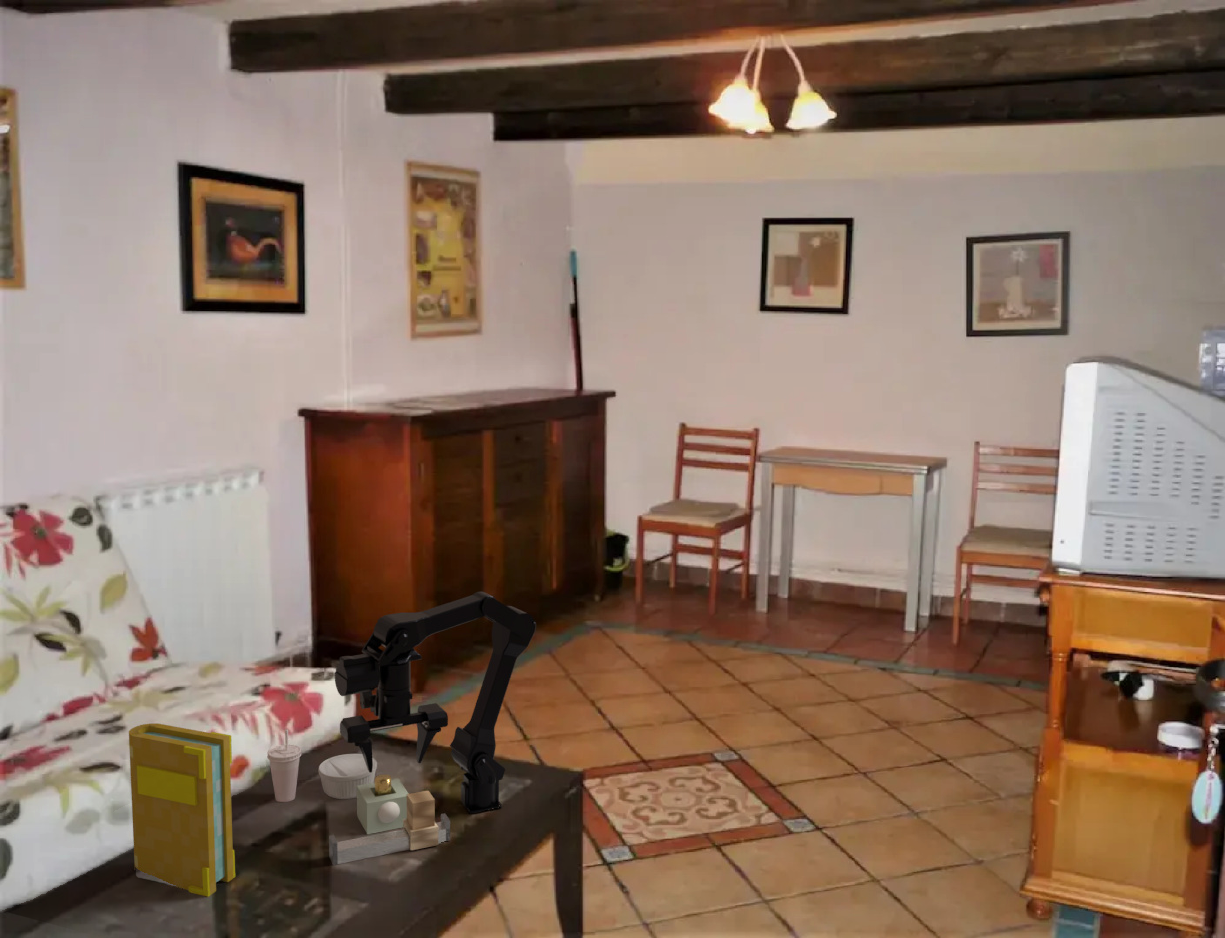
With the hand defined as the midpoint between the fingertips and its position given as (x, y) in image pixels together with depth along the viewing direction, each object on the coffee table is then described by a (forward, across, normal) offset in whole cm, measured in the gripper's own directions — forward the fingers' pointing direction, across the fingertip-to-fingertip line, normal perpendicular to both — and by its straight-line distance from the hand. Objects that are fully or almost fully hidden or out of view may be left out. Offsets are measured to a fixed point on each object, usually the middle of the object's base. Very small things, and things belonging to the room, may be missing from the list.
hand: (394, 766), depth 197 cm
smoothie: (+12, +15, -22) cm, 29 cm away
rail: (+12, +3, +7) cm, 14 cm away
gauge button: (+8, +1, -4) cm, 9 cm away
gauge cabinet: (+12, +1, -4) cm, 13 cm away
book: (+12, +37, 0) cm, 39 cm away
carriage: (+12, -2, +7) cm, 14 cm away
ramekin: (+12, +3, -20) cm, 24 cm away
